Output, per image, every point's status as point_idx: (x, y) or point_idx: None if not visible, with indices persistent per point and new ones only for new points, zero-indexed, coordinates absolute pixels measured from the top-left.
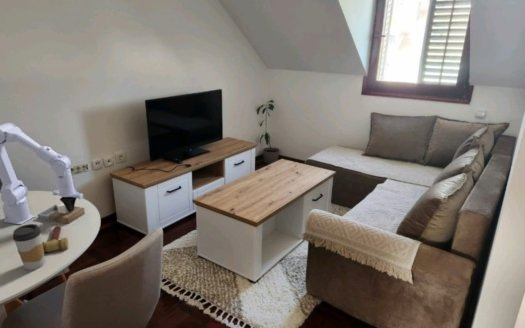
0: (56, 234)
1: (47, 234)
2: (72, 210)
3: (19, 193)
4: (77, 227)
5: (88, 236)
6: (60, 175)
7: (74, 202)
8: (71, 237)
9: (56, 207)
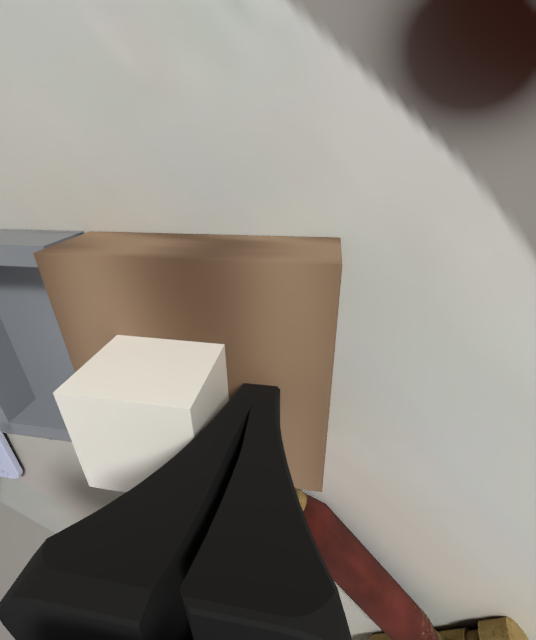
0: (401, 626)
1: None
2: (279, 413)
3: None
4: (441, 470)
5: None
6: None
7: (290, 487)
8: (477, 563)
9: None
